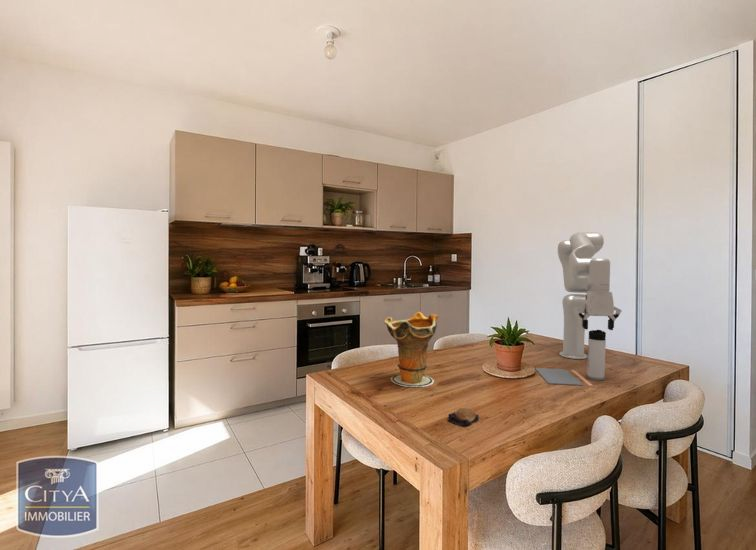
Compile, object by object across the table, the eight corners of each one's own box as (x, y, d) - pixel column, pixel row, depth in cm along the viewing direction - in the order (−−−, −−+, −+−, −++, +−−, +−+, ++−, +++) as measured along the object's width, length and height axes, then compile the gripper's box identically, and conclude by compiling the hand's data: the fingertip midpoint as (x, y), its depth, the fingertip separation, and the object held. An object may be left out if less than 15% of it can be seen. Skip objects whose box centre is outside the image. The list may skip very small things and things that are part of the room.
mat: (535, 369, 173) (535, 368, 173) (565, 370, 171) (565, 369, 171) (548, 384, 153) (548, 382, 153) (583, 385, 151) (583, 384, 151)
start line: (571, 370, 171) (571, 370, 171) (574, 370, 171) (574, 370, 171) (589, 386, 151) (589, 385, 151) (593, 386, 151) (593, 385, 151)
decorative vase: (373, 380, 156) (375, 312, 155) (408, 371, 173) (410, 309, 172) (413, 393, 142) (417, 318, 141) (447, 381, 159) (450, 314, 158)
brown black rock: (459, 412, 128) (459, 401, 128) (483, 418, 122) (483, 407, 122) (443, 422, 120) (443, 411, 119) (467, 430, 114) (467, 418, 114)
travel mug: (606, 377, 161) (607, 330, 160) (602, 381, 156) (603, 333, 155) (589, 374, 165) (591, 328, 164) (585, 378, 161) (586, 331, 160)
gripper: (580, 288, 156) (579, 330, 157) (626, 289, 154) (624, 331, 154) (573, 287, 164) (572, 327, 164) (617, 288, 161) (616, 328, 162)
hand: (597, 329), depth 159 cm, fingers open, 9 cm apart
